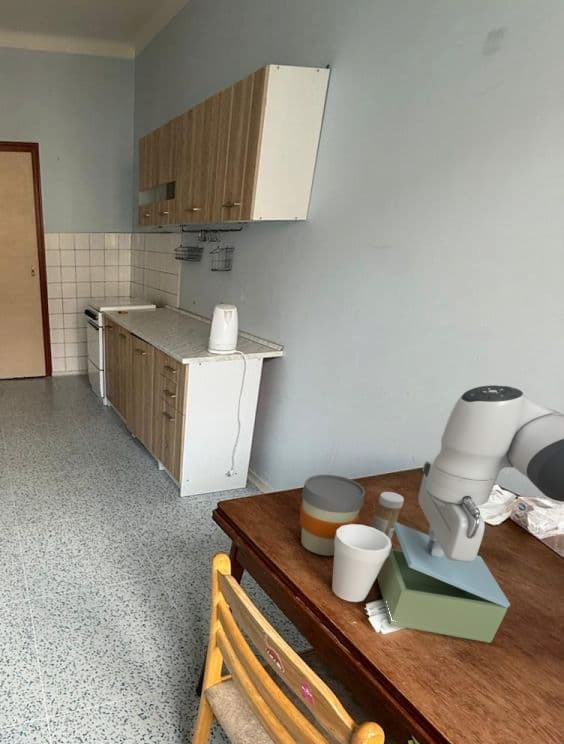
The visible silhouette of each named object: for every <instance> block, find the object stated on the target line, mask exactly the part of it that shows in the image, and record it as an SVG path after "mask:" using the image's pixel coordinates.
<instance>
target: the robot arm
mask: <svg viewBox="0 0 564 744" xmlns="http://www.w3.org/2000/svg"><path fill="white" fill-rule="evenodd" d="M445 424H446V425H445V426H444V429H443V431H442V432H443V433H442V435H441V439H440V443H441V444H440V449H439V452H438V454H437V455H436V456H435V458H434V459H433V460H426V461H425V462H424V464H423V467H422V472H423V476H422V479H421V483H420V487H419V490H418V491H419V492H418V505H419V507H420V508H421V511H422V512H423V515H424V517H425V518H426V520H427V522H428V524H429V528H428V529H429V530H428V531H429V532H428V535H429V541H428V544H427V546H428V548H429V550H430V553H431V555H432V556H436V557H442V556H443V554H445V556H446V557H447V559H449V560H453V561H459V562H467V563H469V562H472V561H473V560H475V558H476V556H477V555H478V553H479V550H480V547H481V545H482V541H483V537H484V535H485V534H484V533H485V529H486V526H485V525H486V524H485V520H484V518H483V516H482V515H481V511H480V509H479V508H478V506H482V505H485V504H487V503H488V501H489V500H490V496H491V494H492V492H493V490H494V487H495V484H496V482H497V480H498V477H499V475H500V472H501V471H502V470H503V469H505V468H511V469H515V470H516V471H518V473H520V474H522V475H523V476H524V477H526V478H527V479H528V480H529V481H530V482H531V483H532V484H533V485H534V486H535V488H536V489H538V490H539V491H540V492H541V493H542V494H543V495H544V496H546V497H547V498H548V499H551V500H553V501H555V502H556V501H558V502H562V503H564V413H562V412H560V411H557V410H555V409H552V408H550V407H547V406H543V405H541V404H539V403H538V402H535V401H534V400H532V399H530V398H529V397H528V396H527V395H525V394H524V392H523V391H522V390H521V389H519V388H515V387H513V386H507V385H496V384H494V385H491V384H490V385H481V386H477V387H474V388H473V387H472V388H471V389H468V390H466V391H465V392H463V394H462V395H461V396H460V397H459V398H458V399H457V401H456V403H455V404H454V406H453V408H452V410H451V412H450V414H449V416H448V418H447V421H446V423H445Z"/></svg>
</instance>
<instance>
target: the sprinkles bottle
mask: <svg viewBox="0 0 564 744" xmlns="http://www.w3.org/2000/svg"><path fill="white" fill-rule="evenodd" d="M404 502H405V498H404V496H402V495H401V494H399V493H397V492H393V491H383V492H381V493H380V495H379V498H378V504H377V507H376V512H375V514H374V518H373V521H372V524H371V527H372V528H375V529H377V530H379V531H381V532H383V533H385V534H386V535H387V536H388V537H389V538H390V539H391V540H392V538H393V535H394V532H395V530H394V527H393V524H394V523H395V522H397V523H398V518H399V514H400V511H401V509H402V508H403V505H404Z"/></svg>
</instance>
